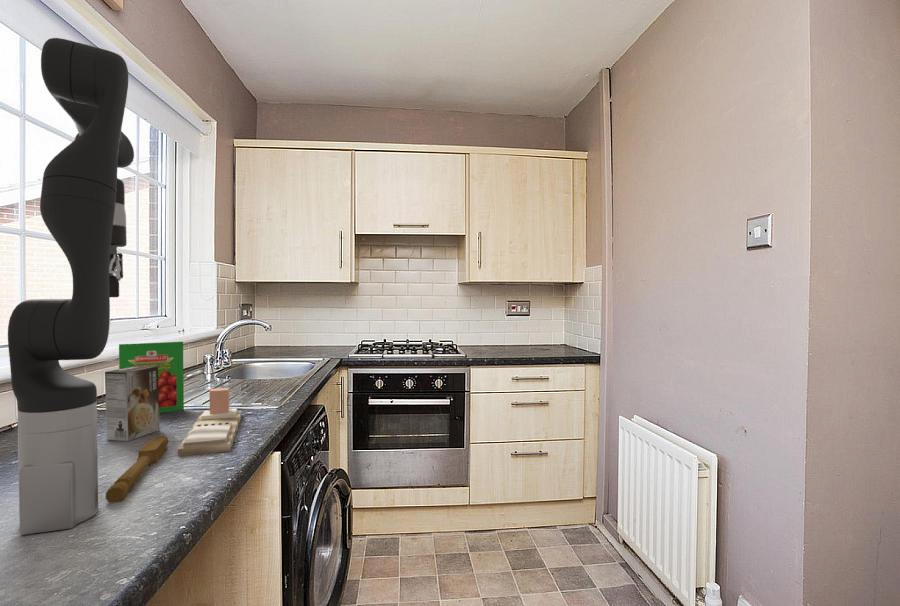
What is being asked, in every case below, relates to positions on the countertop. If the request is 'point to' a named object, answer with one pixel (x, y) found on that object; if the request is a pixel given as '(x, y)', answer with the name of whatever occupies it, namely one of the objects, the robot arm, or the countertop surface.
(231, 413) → the stub
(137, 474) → the tap handle
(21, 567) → the countertop surface
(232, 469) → the countertop surface
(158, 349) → the tomato puree packet
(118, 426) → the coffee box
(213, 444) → the board
